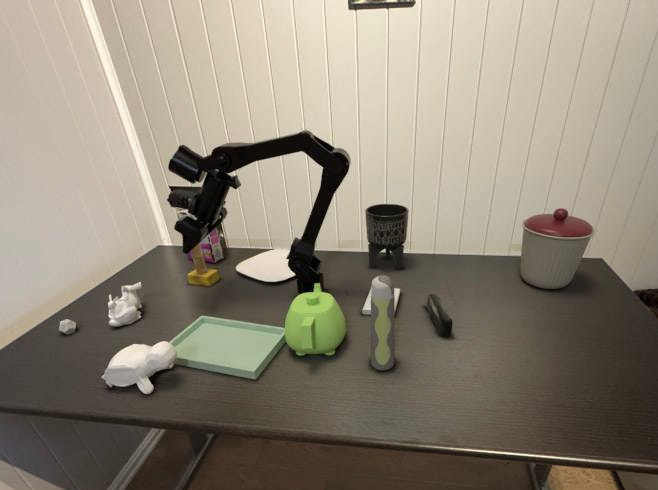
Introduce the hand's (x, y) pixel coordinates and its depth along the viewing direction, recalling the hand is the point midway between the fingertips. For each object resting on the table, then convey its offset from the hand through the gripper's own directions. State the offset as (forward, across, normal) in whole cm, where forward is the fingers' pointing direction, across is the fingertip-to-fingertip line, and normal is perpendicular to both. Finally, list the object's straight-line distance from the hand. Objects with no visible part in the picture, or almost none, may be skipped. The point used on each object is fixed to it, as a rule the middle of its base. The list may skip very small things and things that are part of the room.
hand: (192, 246), depth 97 cm
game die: (+27, +17, -14) cm, 35 cm away
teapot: (-6, +23, +37) cm, 44 cm away
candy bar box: (+18, -26, 0) cm, 32 cm away
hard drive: (-14, +5, +49) cm, 52 cm away
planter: (-15, -20, +51) cm, 57 cm away
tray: (+5, +24, +20) cm, 32 cm away
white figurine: (+20, +11, -4) cm, 24 cm away
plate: (+4, -18, +22) cm, 28 cm away
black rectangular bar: (-21, +14, +60) cm, 65 cm away
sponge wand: (+15, -9, +5) cm, 18 cm away
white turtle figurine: (+12, +34, +9) cm, 38 cm away
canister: (-40, -6, +89) cm, 98 cm away
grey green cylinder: (-14, +30, +49) cm, 59 cm away
